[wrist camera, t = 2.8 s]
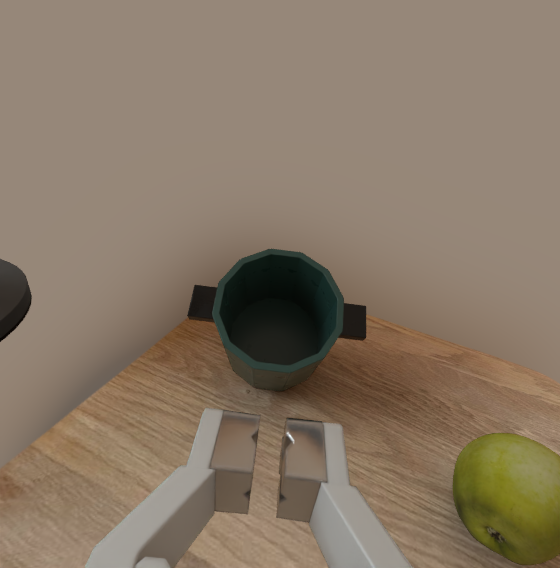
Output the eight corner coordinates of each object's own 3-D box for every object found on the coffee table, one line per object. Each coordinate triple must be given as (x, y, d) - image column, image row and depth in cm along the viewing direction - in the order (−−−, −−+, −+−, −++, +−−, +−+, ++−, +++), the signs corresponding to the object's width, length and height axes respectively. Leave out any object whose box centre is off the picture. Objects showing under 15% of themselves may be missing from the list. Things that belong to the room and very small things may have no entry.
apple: (555, 515, 28) (613, 457, 24) (532, 618, 22) (604, 564, 18) (460, 449, 32) (496, 391, 28) (420, 520, 27) (458, 459, 23)
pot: (196, 380, 36) (172, 358, 26) (215, 288, 41) (201, 239, 31) (340, 398, 36) (370, 383, 26) (343, 304, 41) (370, 260, 31)
